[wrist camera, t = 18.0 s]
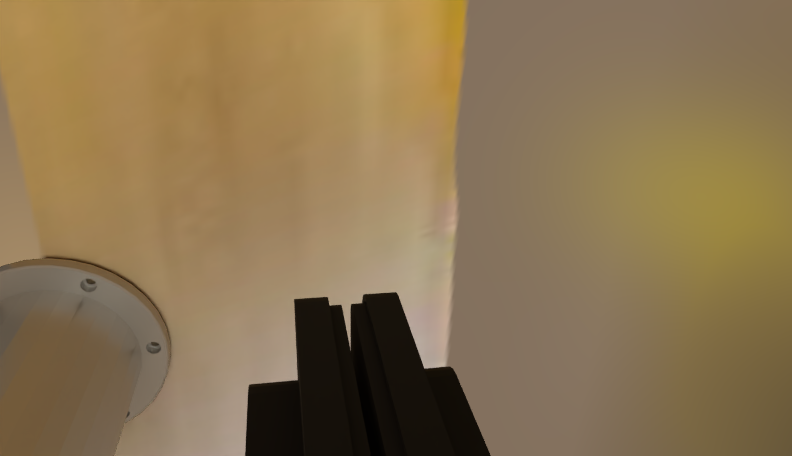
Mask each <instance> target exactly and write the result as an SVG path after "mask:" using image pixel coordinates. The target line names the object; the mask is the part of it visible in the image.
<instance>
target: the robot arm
mask: <svg viewBox="0 0 792 456" xmlns="http://www.w3.org/2000/svg"><path fill="white" fill-rule="evenodd" d="M90 279H92V280H93V281H92V280H90ZM294 304H295V326H296V348H297V370H298V380H295V381H284V382H273V383H262V384H251V385H249V390H248V409H247V430H246V452H245V456H490V453H489V451H488V448H487V446H486V444H485V441H484V439H483V437H482V434H481V432H480V429H479V427H478V425H477V422H476V420H475V418H474V416H473V413H472V411H471V409H470V406H469V404H468V401H467V399H466V396H465V394H464V392H463V389H462V387H461V385H460V383H459V380H458V378H457V375H456V373H455V372H454V370H453V368H451V367H439V368H428V369H424V366H423V364H422V361H421V358H420V355H419V352H418V350H417V347H416V344H415V341H414V338H413V336H412V333H411V330H410V327H409V324H408V322H407V319H406V316H405V313H404V310H403V308H402V305H401V302H400V299H399V296H398V294H397V293H396V292H393V293H379V294H364V295H363V300H362V303H360V304H351V351H350V346H349V341H348V336H347V331H346V325H345V320H344V315H343V310H342V306H341V305H332V306H329V301H328V297H320V298H305V299H294ZM169 362H170V340H169V336H168V332H167V329H166V325H165V324H164V322H163V320H162V318H161V316H160V314H159V312H158V311H157V309H156V308H155V307H154V306H153V304H152V303H151V302H150V301H149V300H148V298H147V297H146V296H145V295H144V294H142V293H141V292H140V291H139V290H138V289H136V288H135V287H134V286H133V285H132V284H130V283H129V282H127V281H125V280H124V279H122V278H120V277H119V276H117V275H115V274H113V273H111V272H109V271H106V270H104V269H101V268H99V267H96V266H94V265H90V264H86V263H81V262H77V261H73V260H64V259H50V258H44V259H32V260H23V261H19V262H16V263H12V264H8V265H4V266H1V267H0V456H114V455H115V452H116V449H117V445H118V442H119V439H120V436H121V433H122V429H123V426H124V423H127V422H128V421H130V420H131V419H133V418H134V417H136V416H137V415H139V414H140V413H142V412H143V411H144V410H145V409H146V408H147V407H148V406H149V405H150V404H151V403H152V402H153V401H154V399H155V398H156V396H157V395H158V393H159V392H160V390H161V388H162V386H163V384H164V381H165V378H166V375H167V372H168V367H169Z"/></svg>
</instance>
